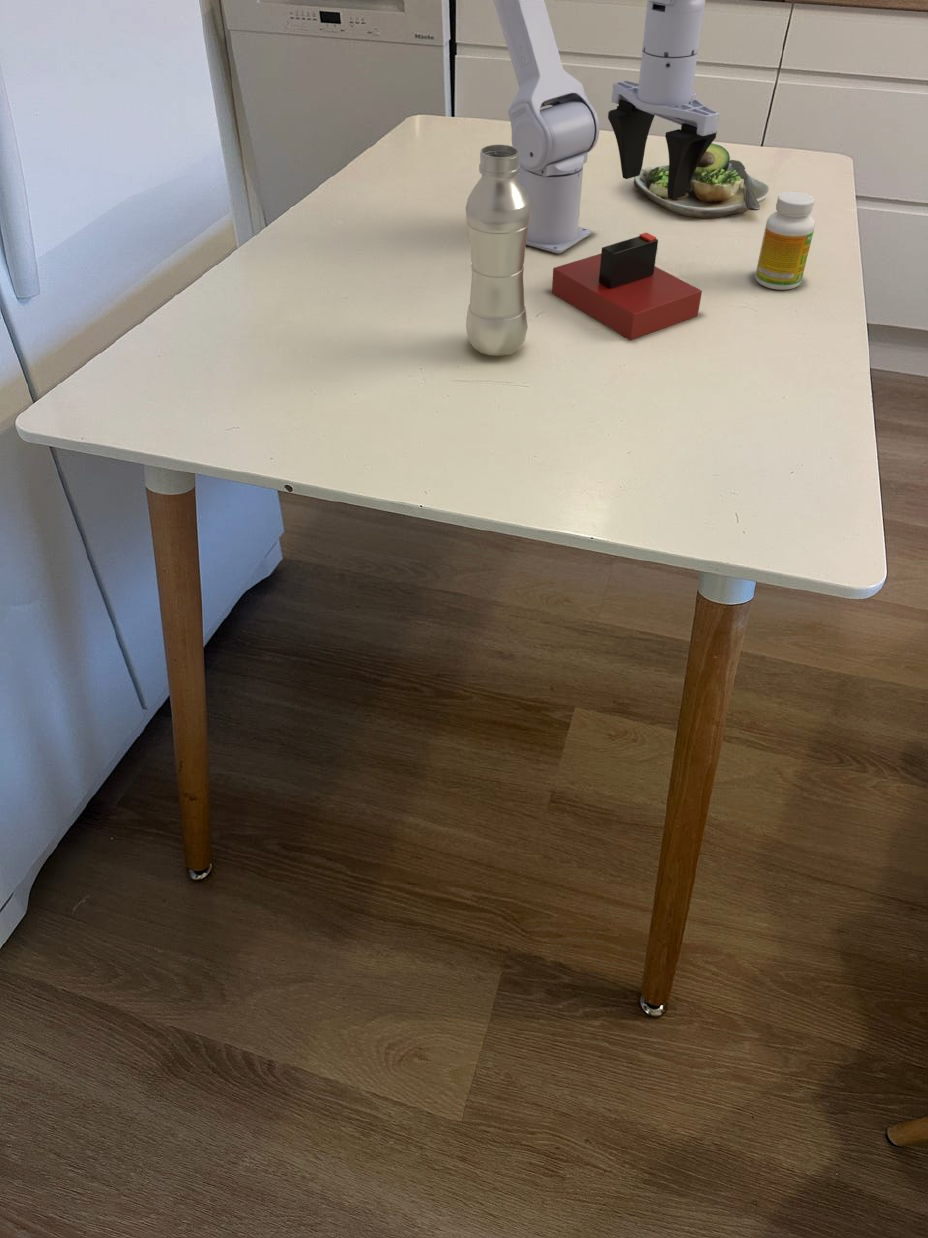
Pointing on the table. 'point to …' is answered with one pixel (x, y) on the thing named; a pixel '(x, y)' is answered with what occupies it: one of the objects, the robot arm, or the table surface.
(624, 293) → the red rectangular block
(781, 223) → the supplement bottle
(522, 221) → the metal water bottle
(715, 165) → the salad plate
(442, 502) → the table surface
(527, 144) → the robot arm
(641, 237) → the block
